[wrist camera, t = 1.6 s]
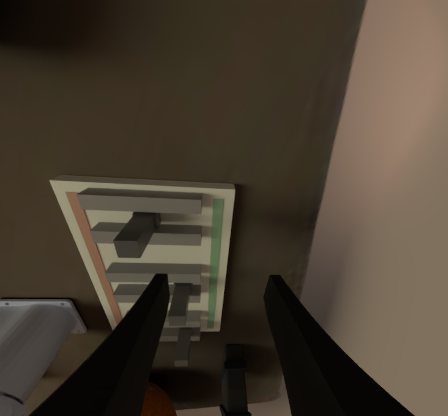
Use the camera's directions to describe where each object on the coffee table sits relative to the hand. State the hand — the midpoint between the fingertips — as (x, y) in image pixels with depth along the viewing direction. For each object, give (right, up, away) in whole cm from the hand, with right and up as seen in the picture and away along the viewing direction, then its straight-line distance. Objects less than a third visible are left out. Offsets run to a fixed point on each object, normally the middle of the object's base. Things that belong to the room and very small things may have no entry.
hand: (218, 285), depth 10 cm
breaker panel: (-8, -3, +12) cm, 15 cm away
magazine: (+2, -26, +25) cm, 37 cm away
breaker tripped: (-7, +4, +6) cm, 10 cm away
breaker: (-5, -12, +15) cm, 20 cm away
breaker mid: (-4, -4, +11) cm, 12 cm away
